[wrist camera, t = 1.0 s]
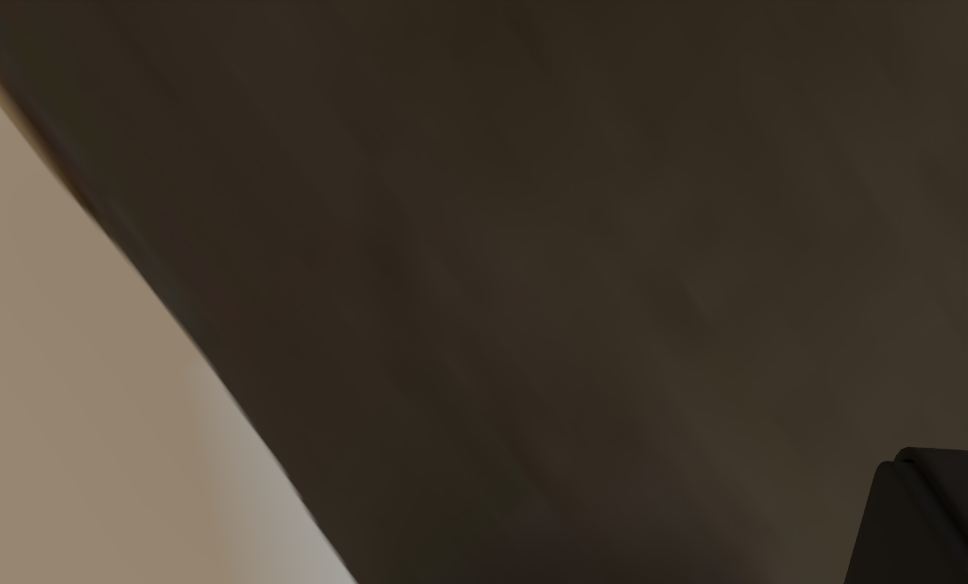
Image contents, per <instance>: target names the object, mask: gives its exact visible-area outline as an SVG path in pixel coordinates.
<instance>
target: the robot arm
mask: <svg viewBox="0 0 968 584" xmlns="http://www.w3.org/2000/svg"><path fill="white" fill-rule="evenodd" d="M844 584H968V451H965V450H953V449H935V448H917V447H906V448H904V449H901V450H900V452H899V453H898V454H897V455H896V457H895V459H894V462H893V461H885V462H882V463H881V464H880V465H879V466H878V468H877V470H876V472H875V475H874V478H873V482H872V486H871V489H870V493H869V496H868V500H867V503H866V507H865V511H864V514H863V518H862V521H861V525H860V528H859V532H858V535H857V539H856V543H855V546H854V550H853V553H852V557H851V560H850V564H849V567H848V571H847V575H846V578H845V582H844Z"/></svg>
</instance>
